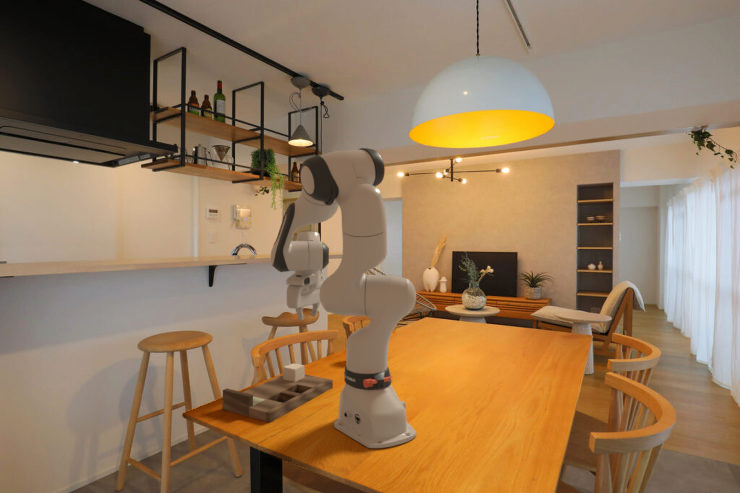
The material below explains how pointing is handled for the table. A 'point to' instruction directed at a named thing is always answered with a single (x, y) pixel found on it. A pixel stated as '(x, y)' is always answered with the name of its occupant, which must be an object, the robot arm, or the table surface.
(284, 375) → the block
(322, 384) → the wooden compartment tray
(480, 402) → the table surface
